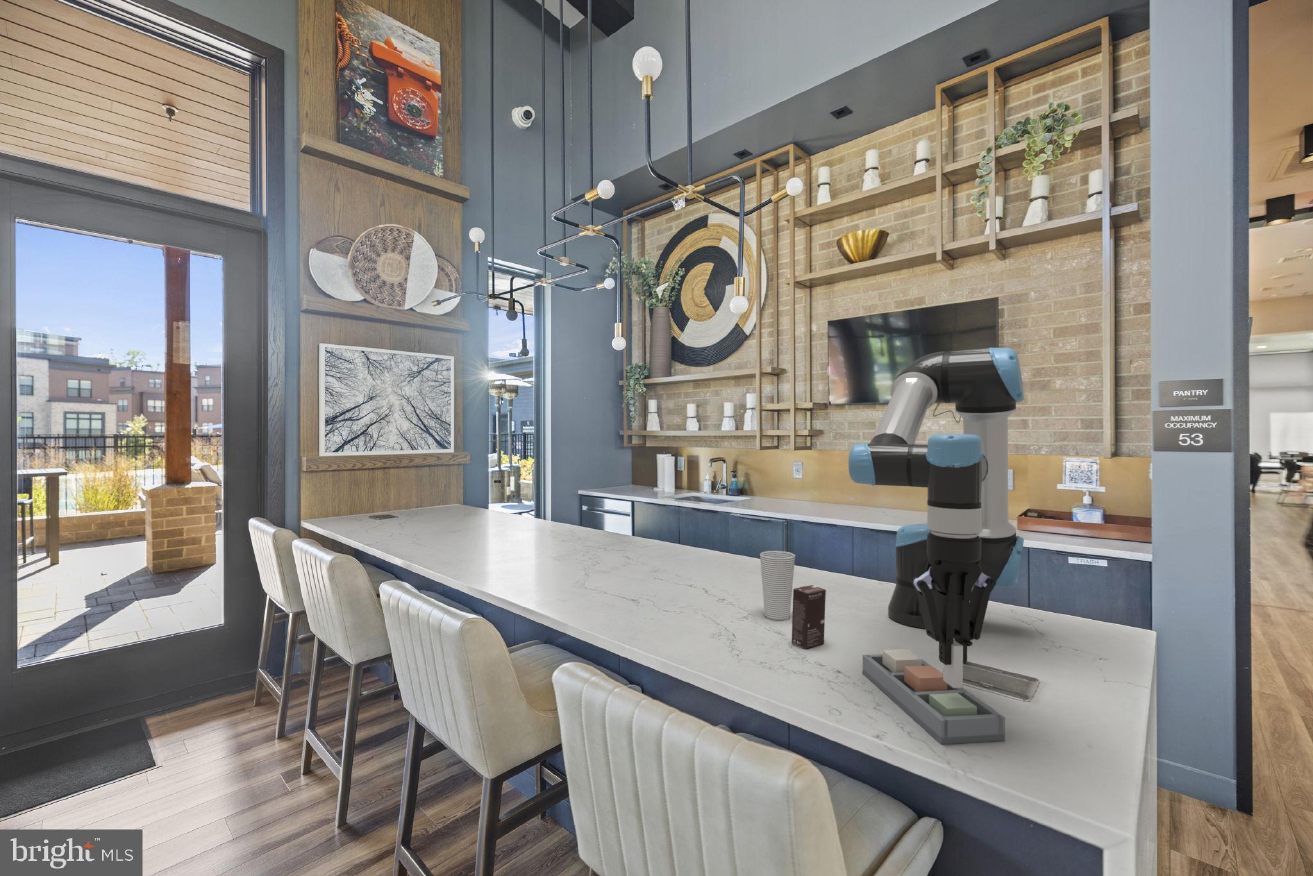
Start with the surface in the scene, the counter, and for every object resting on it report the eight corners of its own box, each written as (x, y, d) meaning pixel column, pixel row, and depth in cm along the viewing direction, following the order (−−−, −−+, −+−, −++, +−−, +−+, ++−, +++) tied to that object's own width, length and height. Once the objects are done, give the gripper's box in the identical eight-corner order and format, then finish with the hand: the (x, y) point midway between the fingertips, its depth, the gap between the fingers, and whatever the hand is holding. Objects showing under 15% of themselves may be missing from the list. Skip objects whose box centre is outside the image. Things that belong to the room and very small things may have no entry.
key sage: (957, 708, 93) (957, 693, 93) (976, 723, 88) (976, 707, 88) (928, 709, 92) (929, 694, 92) (947, 725, 87) (947, 708, 87)
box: (807, 650, 121) (807, 593, 121) (791, 643, 125) (791, 588, 125) (826, 644, 124) (826, 588, 124) (810, 638, 128) (810, 584, 128)
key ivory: (907, 662, 108) (907, 649, 107) (921, 673, 103) (921, 659, 103) (882, 663, 107) (882, 650, 107) (895, 674, 102) (895, 660, 102)
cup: (799, 615, 144) (799, 553, 144) (787, 624, 137) (788, 559, 137) (767, 609, 149) (767, 549, 149) (754, 618, 142) (754, 555, 142)
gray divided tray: (912, 671, 110) (912, 653, 110) (1004, 740, 86) (1004, 717, 85) (862, 673, 109) (862, 655, 109) (941, 744, 84) (941, 720, 84)
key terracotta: (930, 679, 100) (930, 665, 100) (947, 692, 95) (947, 677, 95) (904, 680, 100) (904, 666, 100) (919, 693, 95) (919, 678, 95)
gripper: (976, 528, 94) (976, 671, 95) (901, 530, 93) (900, 675, 93) (1009, 536, 87) (1008, 692, 87) (927, 539, 85) (927, 697, 86)
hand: (952, 683), depth 90 cm, fingers closed
